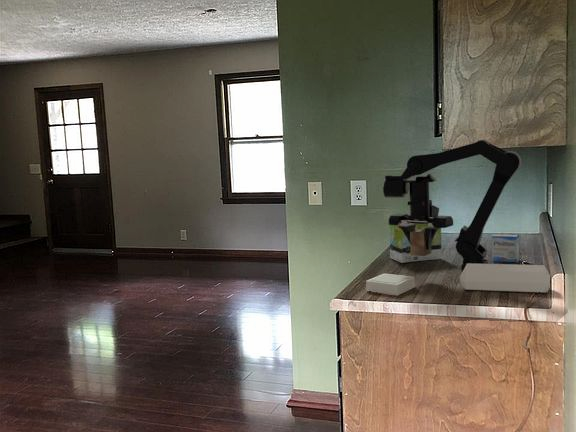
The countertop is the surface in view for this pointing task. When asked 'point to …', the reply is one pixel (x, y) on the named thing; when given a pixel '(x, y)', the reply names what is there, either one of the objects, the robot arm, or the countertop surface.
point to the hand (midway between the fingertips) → (420, 249)
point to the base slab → (390, 284)
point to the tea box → (402, 246)
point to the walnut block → (418, 243)
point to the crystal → (505, 277)
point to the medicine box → (505, 248)
